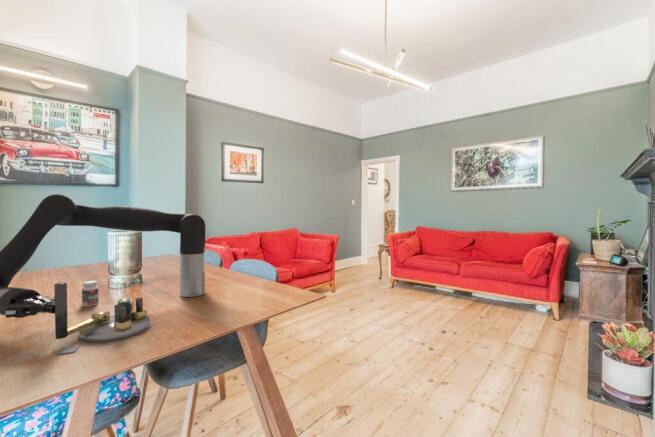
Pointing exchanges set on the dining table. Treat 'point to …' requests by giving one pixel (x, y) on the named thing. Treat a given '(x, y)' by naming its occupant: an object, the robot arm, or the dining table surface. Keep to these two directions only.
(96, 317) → the lever
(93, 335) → the tribrach plate
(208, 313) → the dining table surface
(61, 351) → the plate
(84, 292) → the pill bottle
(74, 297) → the dining table surface
